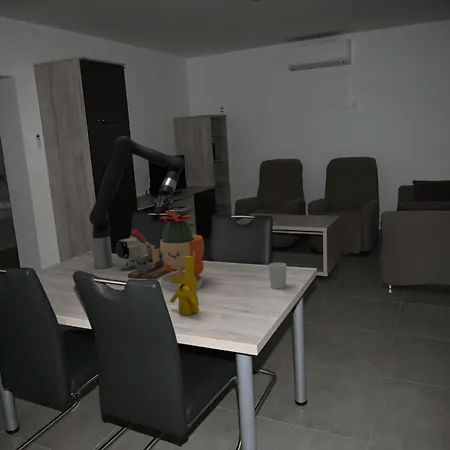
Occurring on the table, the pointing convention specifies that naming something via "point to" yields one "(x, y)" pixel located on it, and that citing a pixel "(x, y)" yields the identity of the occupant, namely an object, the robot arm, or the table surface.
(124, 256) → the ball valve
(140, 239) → the valve lever
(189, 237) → the potted cactus
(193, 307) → the figure statuette
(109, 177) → the robot arm
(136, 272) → the valve stand base
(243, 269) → the table surface
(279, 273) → the white cup
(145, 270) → the valve pipe
